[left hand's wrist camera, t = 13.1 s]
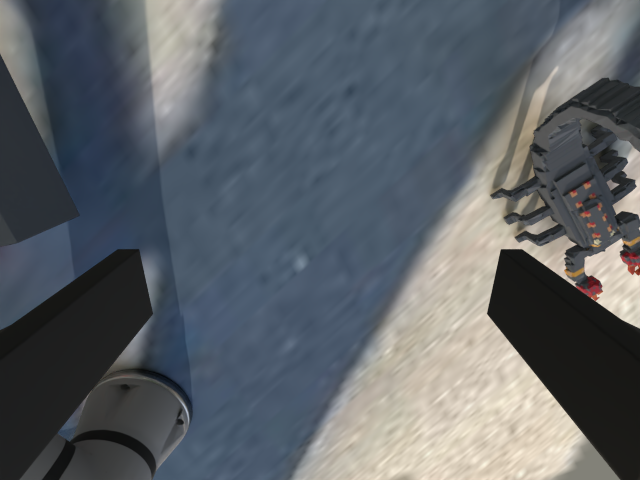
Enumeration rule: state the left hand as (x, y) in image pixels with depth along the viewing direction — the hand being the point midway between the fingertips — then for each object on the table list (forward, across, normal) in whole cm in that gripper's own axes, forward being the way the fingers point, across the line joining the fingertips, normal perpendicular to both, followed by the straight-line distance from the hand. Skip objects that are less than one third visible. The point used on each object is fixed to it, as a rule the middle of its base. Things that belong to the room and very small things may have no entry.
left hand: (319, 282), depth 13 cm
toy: (+28, -28, +4) cm, 40 cm away
